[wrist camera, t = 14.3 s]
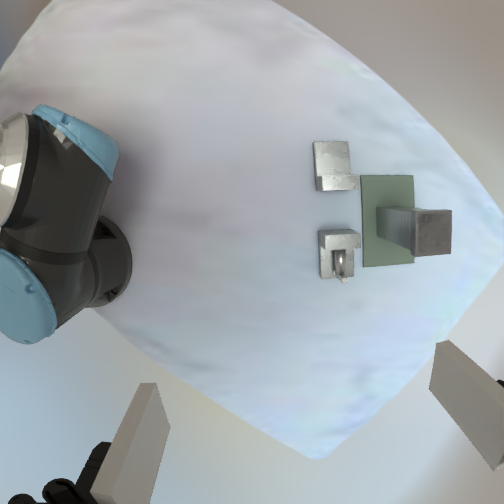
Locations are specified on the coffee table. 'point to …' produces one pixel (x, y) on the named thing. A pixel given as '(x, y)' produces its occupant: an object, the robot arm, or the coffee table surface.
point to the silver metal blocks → (335, 241)
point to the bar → (416, 229)
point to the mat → (375, 195)
